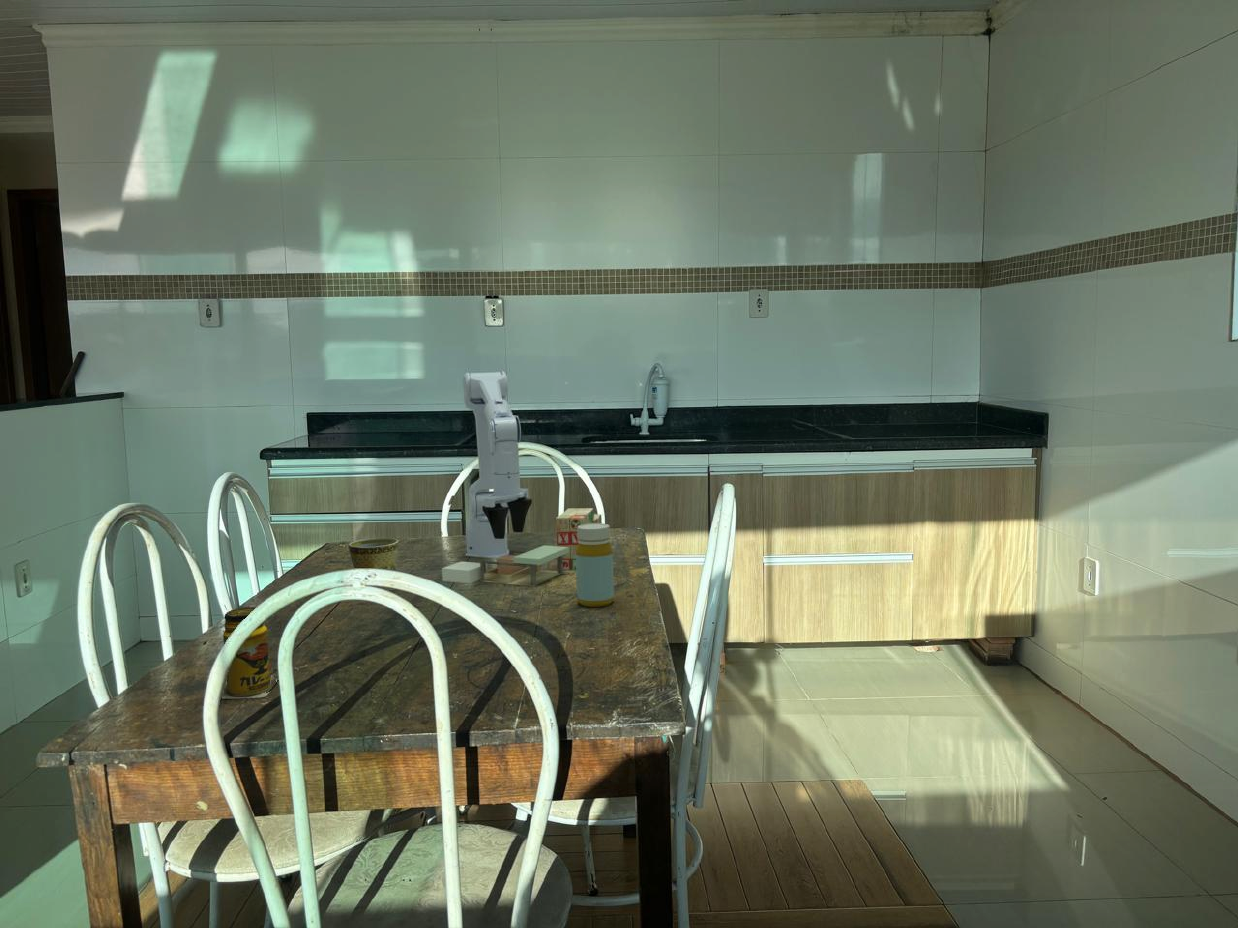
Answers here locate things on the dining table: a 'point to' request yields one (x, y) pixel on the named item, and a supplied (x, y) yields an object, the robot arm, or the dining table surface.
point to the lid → (541, 555)
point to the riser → (462, 572)
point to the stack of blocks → (573, 531)
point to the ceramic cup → (374, 553)
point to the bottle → (594, 565)
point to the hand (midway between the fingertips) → (508, 535)
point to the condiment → (247, 660)
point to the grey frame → (519, 572)
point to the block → (506, 568)
